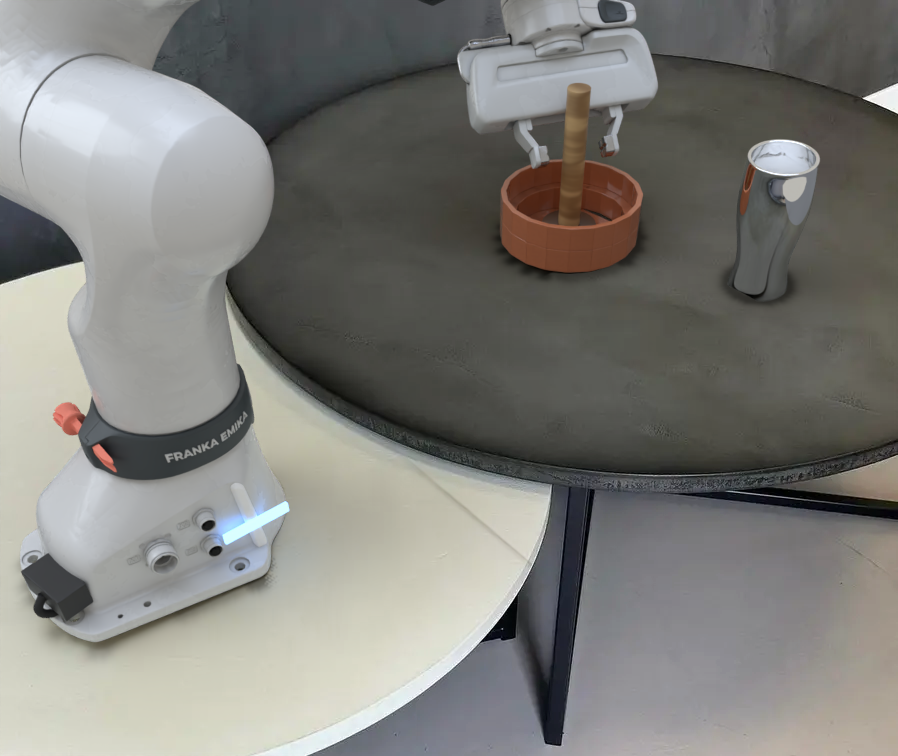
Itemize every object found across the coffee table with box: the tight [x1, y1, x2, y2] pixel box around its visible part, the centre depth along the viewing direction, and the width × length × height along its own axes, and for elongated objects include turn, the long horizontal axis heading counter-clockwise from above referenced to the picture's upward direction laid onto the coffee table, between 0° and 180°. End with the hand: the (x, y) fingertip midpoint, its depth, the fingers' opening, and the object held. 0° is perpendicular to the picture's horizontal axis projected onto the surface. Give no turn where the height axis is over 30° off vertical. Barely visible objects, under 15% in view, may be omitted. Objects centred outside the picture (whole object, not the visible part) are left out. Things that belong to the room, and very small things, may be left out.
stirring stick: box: [542, 83, 596, 226], centre depth 105 cm, size 6×6×16 cm
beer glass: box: [727, 138, 821, 302], centre depth 98 cm, size 7×7×15 cm
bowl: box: [499, 158, 644, 273], centre depth 109 cm, size 15×15×6 cm
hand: (576, 160), depth 104 cm, fingers open, 6 cm apart
